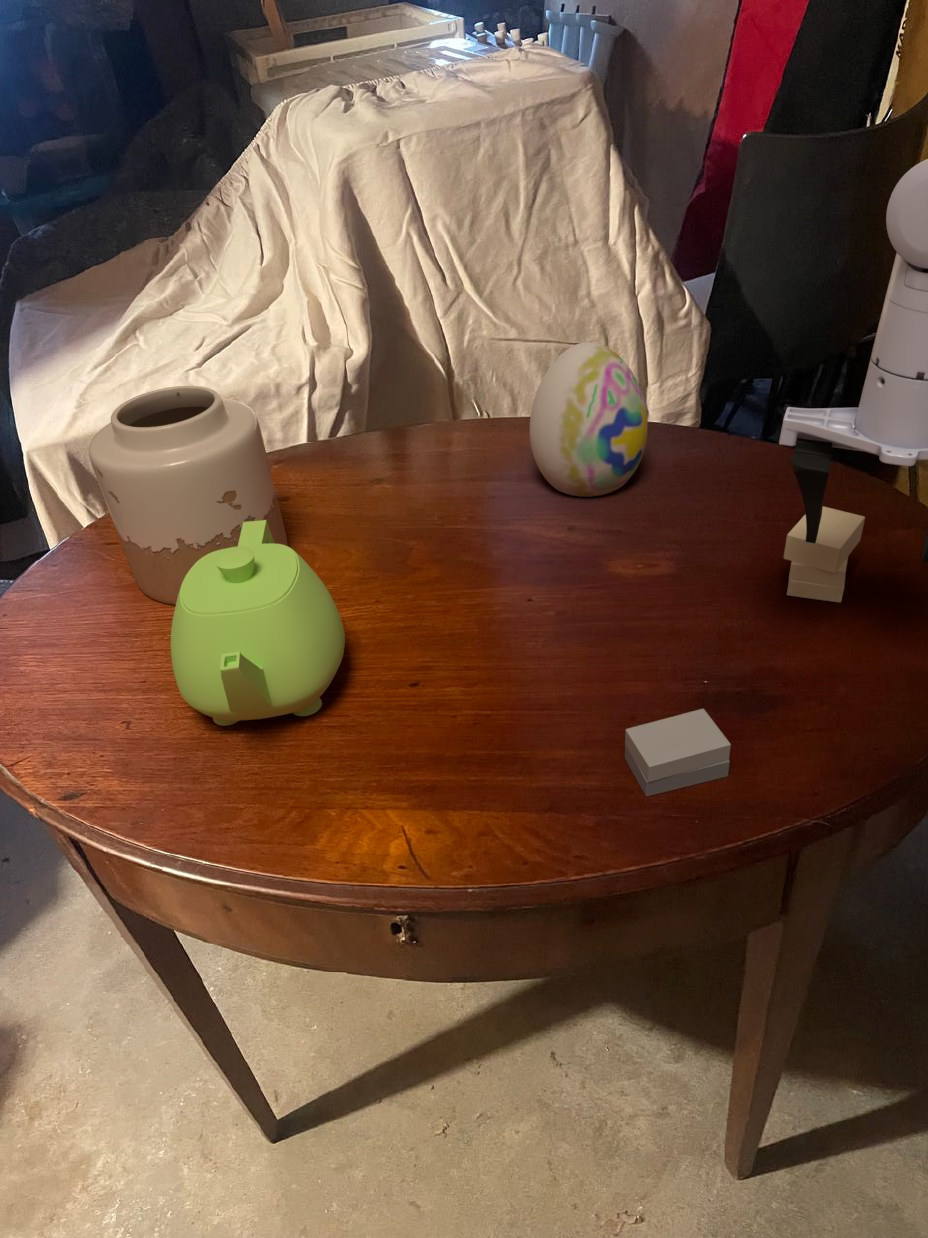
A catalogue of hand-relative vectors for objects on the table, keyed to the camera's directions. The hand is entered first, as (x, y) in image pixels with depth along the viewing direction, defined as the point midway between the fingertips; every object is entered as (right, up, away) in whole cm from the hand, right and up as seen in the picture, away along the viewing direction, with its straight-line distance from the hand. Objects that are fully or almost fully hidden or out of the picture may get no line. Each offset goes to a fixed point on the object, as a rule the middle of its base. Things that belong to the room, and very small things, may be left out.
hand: (868, 545), depth 62 cm
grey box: (-14, -16, -1) cm, 21 cm away
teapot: (-45, -11, +10) cm, 47 cm away
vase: (-54, 0, +26) cm, 60 cm away
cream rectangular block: (+2, +1, +13) cm, 13 cm away
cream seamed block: (+2, -2, +15) cm, 15 cm away
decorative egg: (-15, +10, +33) cm, 38 cm away
